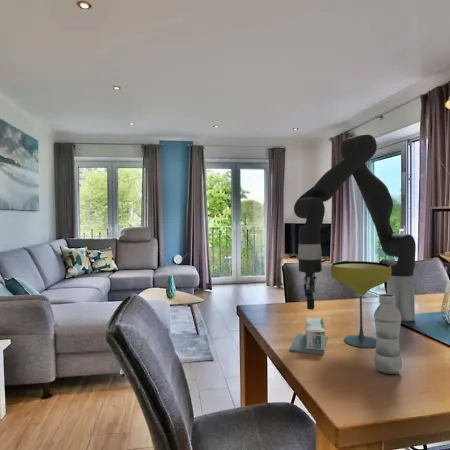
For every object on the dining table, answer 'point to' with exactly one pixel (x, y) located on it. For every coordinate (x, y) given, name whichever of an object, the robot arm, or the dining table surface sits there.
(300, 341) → the mat
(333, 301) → the dining table surface
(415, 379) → the dining table surface
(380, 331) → the plastic bottle
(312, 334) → the syrup box
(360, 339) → the cocktail glass
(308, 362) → the dining table surface
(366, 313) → the dining table surface
